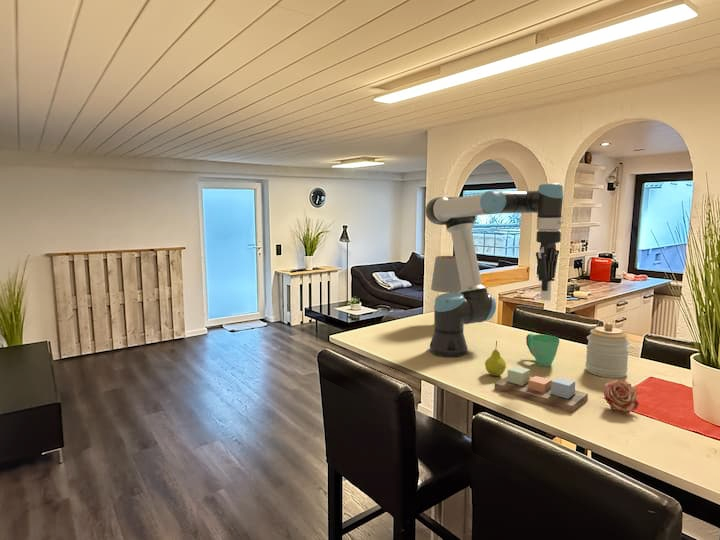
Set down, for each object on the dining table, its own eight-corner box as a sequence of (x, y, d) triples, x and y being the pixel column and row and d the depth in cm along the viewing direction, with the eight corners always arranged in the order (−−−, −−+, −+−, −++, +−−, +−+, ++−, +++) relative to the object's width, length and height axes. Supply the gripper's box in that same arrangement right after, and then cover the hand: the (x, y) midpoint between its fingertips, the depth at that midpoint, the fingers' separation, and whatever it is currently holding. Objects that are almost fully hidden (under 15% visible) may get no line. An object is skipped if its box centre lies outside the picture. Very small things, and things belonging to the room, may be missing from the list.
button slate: (550, 394, 133) (551, 381, 132) (557, 389, 136) (558, 376, 136) (568, 398, 129) (568, 385, 129) (574, 393, 133) (575, 381, 132)
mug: (564, 367, 162) (565, 340, 160) (541, 370, 159) (542, 342, 158) (537, 354, 176) (538, 330, 174) (516, 357, 173) (517, 332, 171)
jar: (622, 367, 160) (625, 320, 158) (631, 380, 148) (635, 329, 146) (582, 364, 164) (585, 317, 162) (588, 376, 152) (591, 326, 150)
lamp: (430, 328, 217) (431, 259, 212) (430, 319, 235) (431, 255, 231) (470, 329, 214) (471, 259, 209) (467, 320, 232) (468, 255, 228)
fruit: (502, 380, 150) (503, 345, 148) (482, 376, 153) (483, 342, 152) (507, 374, 155) (508, 340, 154) (487, 370, 159) (488, 338, 157)
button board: (494, 389, 142) (494, 383, 142) (512, 379, 151) (512, 373, 150) (571, 412, 125) (572, 405, 125) (587, 399, 133) (587, 393, 133)
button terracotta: (528, 392, 138) (528, 380, 137) (535, 387, 141) (535, 375, 141) (544, 397, 134) (544, 384, 134) (551, 392, 138) (551, 379, 137)
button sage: (507, 381, 143) (507, 369, 142) (514, 377, 146) (515, 365, 146) (522, 385, 139) (522, 373, 139) (529, 381, 143) (529, 369, 142)
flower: (591, 395, 133) (598, 380, 127) (620, 388, 133) (628, 373, 128) (611, 424, 126) (618, 410, 120) (641, 417, 126) (650, 402, 121)
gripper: (551, 231, 141) (548, 304, 145) (568, 230, 150) (564, 298, 153) (529, 231, 147) (526, 301, 150) (546, 229, 156) (543, 295, 159)
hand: (545, 299), depth 152 cm, fingers closed
